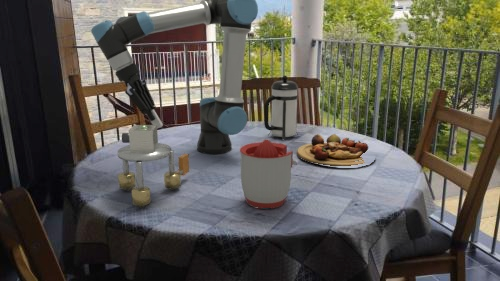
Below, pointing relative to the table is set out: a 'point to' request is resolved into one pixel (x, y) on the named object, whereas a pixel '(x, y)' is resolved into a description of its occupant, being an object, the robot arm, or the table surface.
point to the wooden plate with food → (333, 151)
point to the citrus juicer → (266, 173)
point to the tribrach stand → (140, 159)
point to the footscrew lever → (173, 176)
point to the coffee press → (282, 109)
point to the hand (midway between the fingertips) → (159, 127)
